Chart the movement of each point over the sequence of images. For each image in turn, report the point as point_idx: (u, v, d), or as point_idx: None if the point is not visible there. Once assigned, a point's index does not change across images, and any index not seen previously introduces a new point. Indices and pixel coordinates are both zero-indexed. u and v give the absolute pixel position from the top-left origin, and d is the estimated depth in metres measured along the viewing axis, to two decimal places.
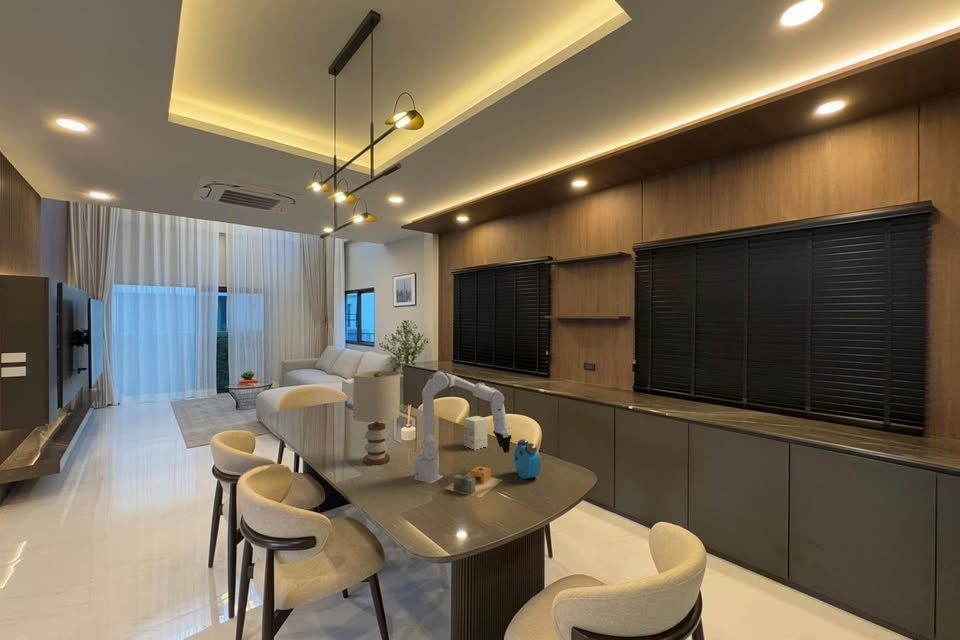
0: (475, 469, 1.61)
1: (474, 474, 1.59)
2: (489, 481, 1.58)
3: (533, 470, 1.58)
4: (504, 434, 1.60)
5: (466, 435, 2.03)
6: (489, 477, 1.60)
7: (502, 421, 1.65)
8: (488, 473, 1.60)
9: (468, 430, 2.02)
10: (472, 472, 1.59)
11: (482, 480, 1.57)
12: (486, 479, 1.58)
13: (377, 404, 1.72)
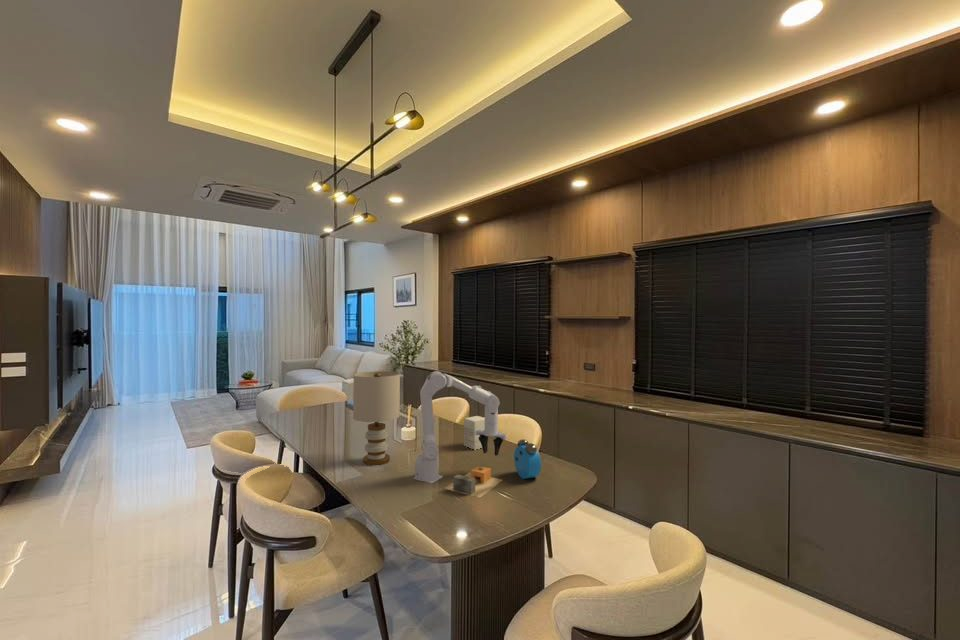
0: (475, 469, 1.61)
1: (474, 474, 1.59)
2: (489, 481, 1.58)
3: (533, 470, 1.58)
4: (505, 436, 1.64)
5: (466, 435, 2.03)
6: (489, 477, 1.60)
7: (497, 424, 1.67)
8: (488, 473, 1.60)
9: (468, 430, 2.02)
10: (472, 472, 1.59)
11: (482, 480, 1.57)
12: (486, 479, 1.58)
13: (377, 404, 1.72)
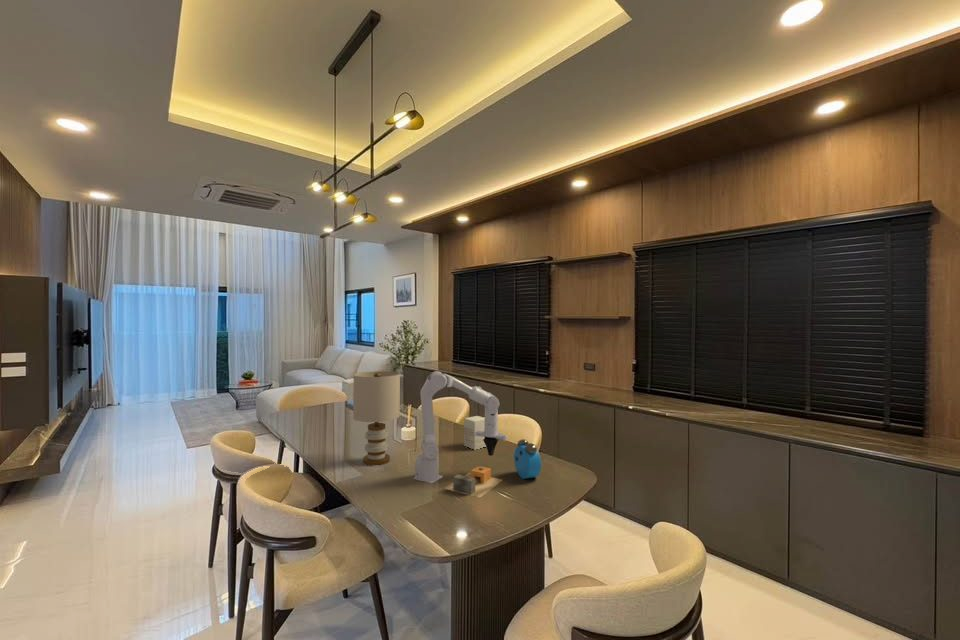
0: (475, 469, 1.61)
1: (474, 474, 1.59)
2: (489, 481, 1.58)
3: (533, 470, 1.58)
4: (505, 437, 1.64)
5: (466, 435, 2.03)
6: (489, 477, 1.60)
7: (497, 425, 1.67)
8: (488, 473, 1.60)
9: (468, 430, 2.02)
10: (472, 472, 1.59)
11: (482, 480, 1.57)
12: (486, 479, 1.58)
13: (377, 404, 1.72)
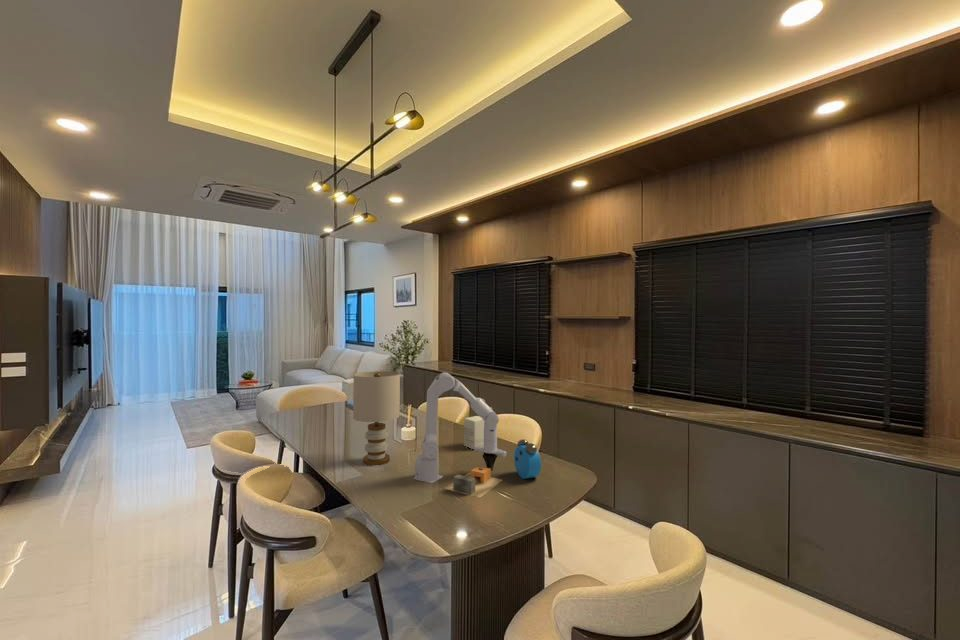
0: (475, 469, 1.61)
1: (474, 474, 1.59)
2: (489, 481, 1.58)
3: (533, 470, 1.58)
4: (505, 453, 1.64)
5: (466, 435, 2.03)
6: (489, 477, 1.60)
7: (496, 441, 1.67)
8: (488, 473, 1.60)
9: (468, 430, 2.02)
10: (472, 472, 1.59)
11: (482, 480, 1.57)
12: (486, 479, 1.58)
13: (377, 404, 1.72)
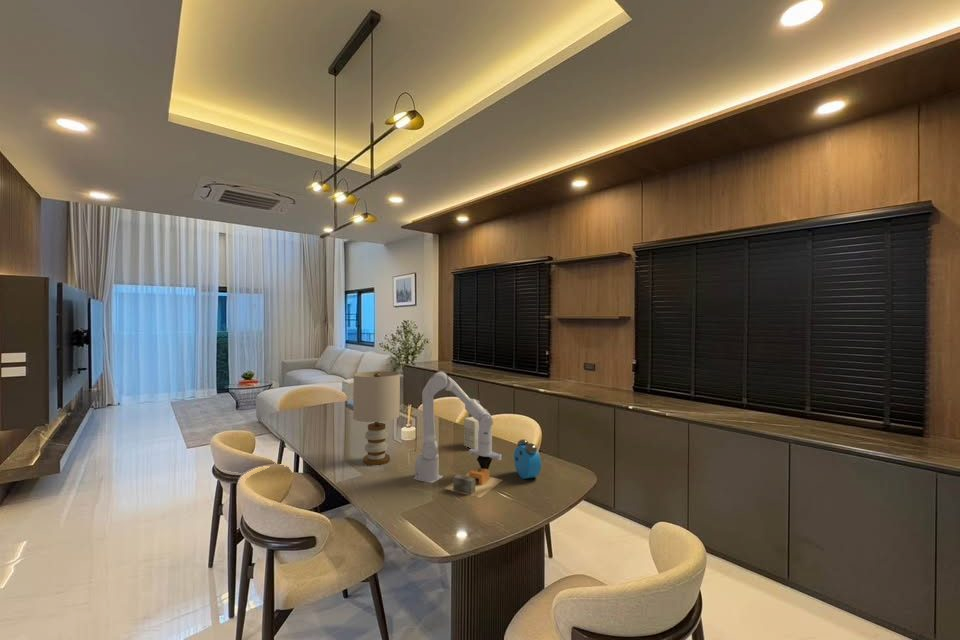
0: (473, 470, 1.59)
1: (472, 475, 1.57)
2: (489, 481, 1.58)
3: (533, 470, 1.58)
4: (500, 456, 1.59)
5: (466, 435, 2.03)
6: (487, 479, 1.59)
7: (491, 444, 1.63)
8: (486, 474, 1.58)
9: (468, 430, 2.02)
10: (470, 473, 1.58)
11: (480, 481, 1.55)
12: (484, 480, 1.57)
13: (377, 404, 1.72)
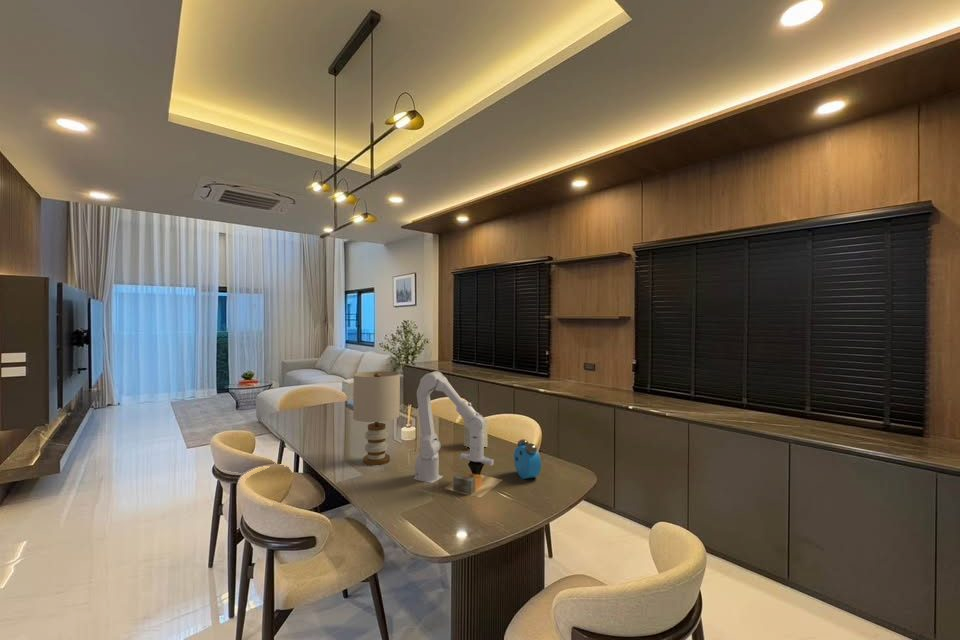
0: None
1: None
2: (489, 481, 1.58)
3: (533, 470, 1.58)
4: (492, 462, 1.53)
5: (466, 435, 2.03)
6: (480, 485, 1.53)
7: (483, 449, 1.56)
8: (479, 480, 1.52)
9: (468, 430, 2.02)
10: None
11: None
12: (476, 487, 1.51)
13: (377, 404, 1.72)
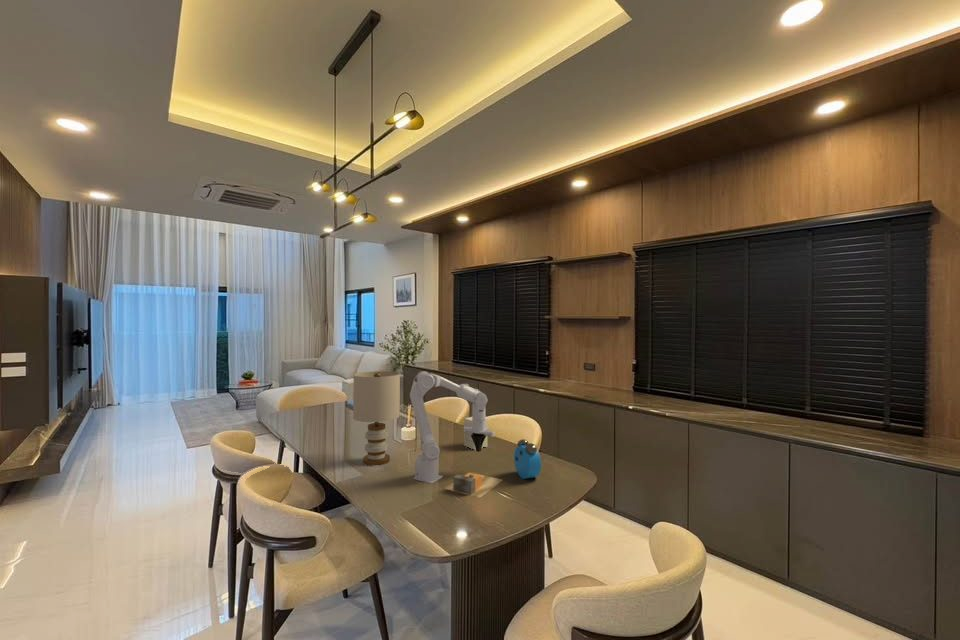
0: None
1: None
2: (489, 481, 1.58)
3: (533, 470, 1.58)
4: (493, 433, 1.65)
5: (466, 435, 2.03)
6: (480, 485, 1.53)
7: None
8: (479, 480, 1.52)
9: None
10: None
11: None
12: (476, 487, 1.51)
13: (377, 404, 1.72)
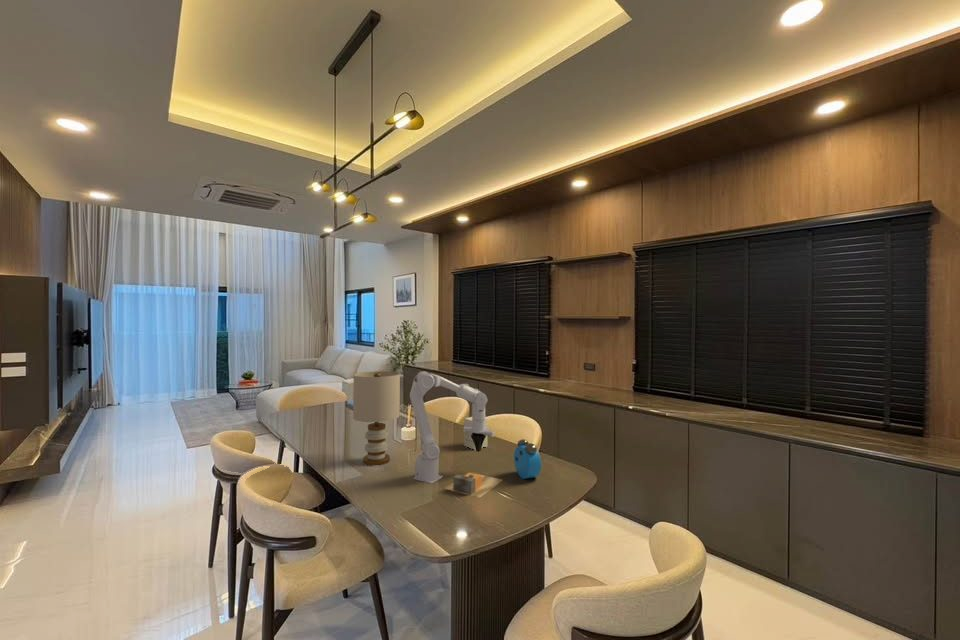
0: None
1: None
2: (489, 481, 1.58)
3: (533, 470, 1.58)
4: (493, 433, 1.65)
5: (466, 435, 2.03)
6: (480, 485, 1.53)
7: (484, 421, 1.68)
8: (479, 480, 1.52)
9: None
10: None
11: None
12: (476, 487, 1.51)
13: (377, 404, 1.72)
